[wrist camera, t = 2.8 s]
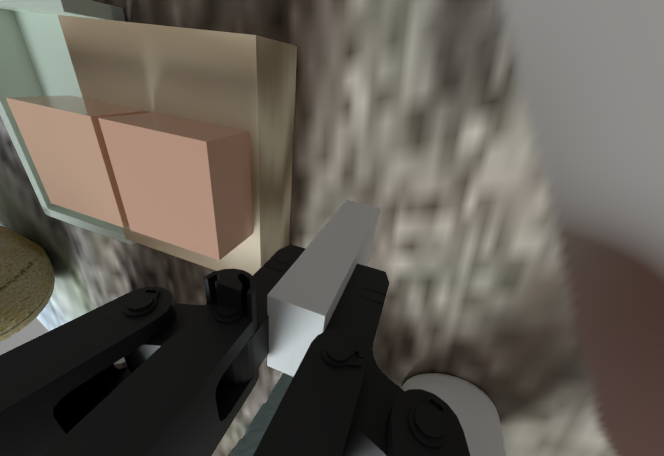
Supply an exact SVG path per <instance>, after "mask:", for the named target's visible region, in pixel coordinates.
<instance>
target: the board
mask: <svg viewBox="0 0 664 456" xmlns="http://www.w3.org/2000/svg"><path fill="white" fill-rule="evenodd" d="M58 18H59V22H60V25H61V28H62V32H63V35H64V38H65V41H66V45H67V48H68V51H69V55H70V58H71V61H72V64H73V68H74V71H75V74H76V77H77V81H78V84H79V87H80V91H81V94H82V97H83V98H86V99H91V100H96V101H101V102H106V103H111V104H116V105H121V106H126V107H131V108H136V109H141V110H146V111H148V113H153V112H156V113H161V114H166V115H171V116H176V117H181V118H186V119H191V120H196V121H201V122H206V123H211V124H216V125H221V126H226V127H231V128H236V129H241V130H246V131H249V140H250V167H251V195H252V223H253V234H252V235H251V236H250V237H248V238H247V239H246V240H245V241H243V242H242V243H241V244H239V245H238V246H237V247H236V248H234V249H233V250H232V251H231V252H229V253H228V254H227V255H226V256H224V257H223V258H222V259H221V260H217V259H214V258H211V257H208V256H205V255H202V254H199V253H197V252H194V251H191V250H188V249H185V248H182V247H179V246H176V245H173V244H170V243H167V242H164V241H161V240H158V239H155V238H152V237H149V236H146V235H143V234H140V233H138V232H135V231H132V230H130V226H127V227H125V228H123V227H122V228H123V232H124V235H125V238H126V239H127V240H130V241H133V242H136V243H138V244H141V245H144V246H147V247H150V248H153V249H156V250H158V251H161V252H164V253H167V254H170V255H173V256H176V257H178V258H181V259H184V260H187V261H190V262H193V263H195V264H198V265H201V266H204V267H207V268H210V269H213V270H215V271H219V270H222V269H233V268H234V269H240V270H244V271H246V272H248V273H250V274H251V275H252V276H253V275H254V274H255V273H256V272H257V271H258V270H259V269H260V268H261V267H263V265H264V264H265V263H266V262H267V261H268V260H270V258H271V257H272V256H273V255H274V254H275V253H276V252H277V251H278V250H279V249H281V248H284V247H286V246H288V245H289V239H290V214H291V190H292V165H293V141H294V116H295V92H296V67H297V46H296V45H292V44H288V43H284V42H280V41H277V40H273V39H269V38H265V37H261V36H257V35H250V34H240V33H230V32H221V31H211V30H201V29H192V28H182V27H172V26H162V25H153V24H143V23H133V22H124V21H114V20H104V19H94V18H85V17H75V16H65V15H58Z"/></svg>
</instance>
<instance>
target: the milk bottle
mask: <svg viewBox="0 0 664 456" xmlns="http://www.w3.org/2000/svg"><path fill="white" fill-rule="evenodd" d="M401 389H403V390H404V391H407V390H409V389H422V390H425V391H428V392H431V393H433V394H435V395H436V396H438V397H439V398H441V399H442V400H443V401H445V402H446V403H447V404H448V405H449V407H450V408H451V409H452V410H453V412H454V413H455V414H456V415H457V417H458V419H459V422H460V424H461V426H462V428H463V431H464V434H465V438H466V441H467V445H468V449H469V452H470V456H506V452H505V446H504V441H503V435H502V429H501V424H500V419H499V415H498V411H497V409H496V407H495V406H494V404H493V403H492V401H491V400H490V398H489V397H488V396H487V395H486V394H485V393H484V392H483V391H482V390H481V389H479V388H478V387H476V386H475V385H473V384H471V383H469V382H468V381H466V380H463V379H460V378H458V377H455V376H451V375H447V374H439V373H425V374H419V375H416V376H413V377H411V378H410V379H408V380H407V381H406V382H405V383H404V384H403V385H402V387H401Z"/></svg>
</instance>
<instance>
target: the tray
mask: <svg viewBox="0 0 664 456" xmlns="http://www.w3.org/2000/svg"><path fill="white" fill-rule="evenodd" d="M58 15H65V16H75V17H85V18H94V19H104V20H114V21H124V22H126V21H125V16H124V11H123V8H121V7H117V6H113V5H108V4H104V3H100V2H96V1H91V0H0V115H1V117H2V120H3V122H4V124H5V126H6V129H7V131H8V133H9V135H10V137H11V140H12V142H13V144H14V146H15V148H16V151H17V153H18V155H19V157H20V160H21V162H22V164H23V166H24V168H25V171H26V173H27V175H28V177H29V180H30V182H31V184H32V186H33V188H34V191H35V193H36V195H37V197H38V199H39V202H40V204H41V206H42V208H43V211H44V213H45V215H48V216H50V217H53V218H56V219H59V220H62V221H64V222H67V223H70V224H73V225H76V226H78V227H81V228H84V229H87V230H90V231H93V232H95V233H98V234H101V235H104V236H107V237H109V238H112V239H115V240H118V241H121V242H123V243H126V244H129V245H132V246H134V245H136V244H138V243H136V242H133V241H130V240H127V239H126V238H125V235H124V232H123V228H122V227H120V226H117V225H114V224H111V223H108V222H105V221H102V220H99V219H96V218H93V217H90V216H87V215H84V214H81V213H79V212H76V211H73V210H70V209H67V208H64V207H61V206H58V205H55V204H52V203H51V202H50V200H49V197H48V195H47V193H46V190H45V188H44V186H43V183H42V181H41V179H40V176H39V174H38V172H37V169H36V167H35V165H34V162H33V160H32V158H31V156H30V153H29V151H28V149H27V146H26V144H25V142H24V139H23V137H22V135H21V132H20V130H19V128H18V125H17V123H16V121H15V118H14V116H13V114H12V111H11V109H10V107H9V104H8V102H7V100H6V98H9V97H40V96H76V97H81V98H83V97H82V94H81V91H80V87H79V84H78V81H77V77H76V74H75V71H74V68H73V64H72V61H71V58H70V55H69V51H68V48H67V45H66V41H65V38H64V35H63V32H62V28H61V25H60V22H59V18H58Z"/></svg>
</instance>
